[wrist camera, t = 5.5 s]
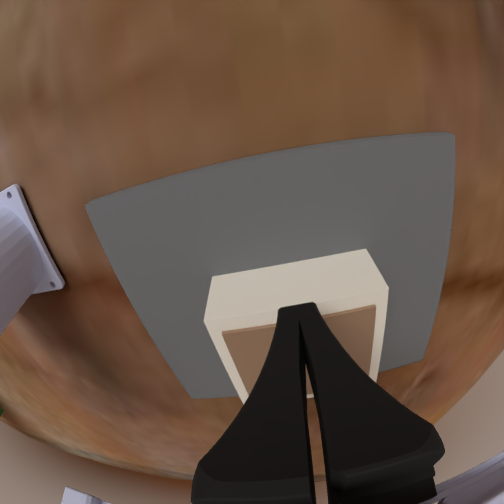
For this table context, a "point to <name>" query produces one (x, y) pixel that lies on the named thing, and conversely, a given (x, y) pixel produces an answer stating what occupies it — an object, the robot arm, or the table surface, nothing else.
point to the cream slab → (292, 293)
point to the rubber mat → (283, 237)
